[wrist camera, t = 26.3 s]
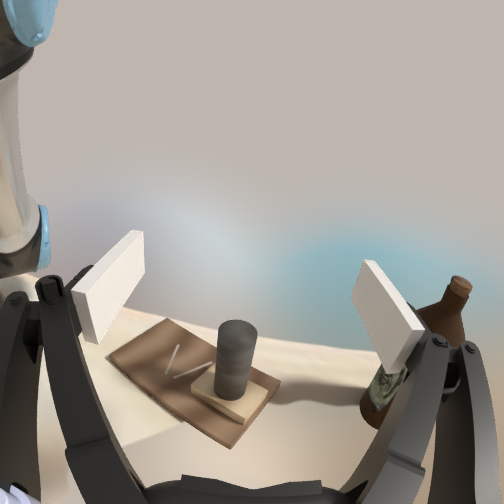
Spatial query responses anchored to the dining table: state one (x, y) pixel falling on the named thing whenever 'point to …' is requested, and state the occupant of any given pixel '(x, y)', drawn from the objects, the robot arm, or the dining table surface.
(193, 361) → the walnut board
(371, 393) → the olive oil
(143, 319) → the dining table surface
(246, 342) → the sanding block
